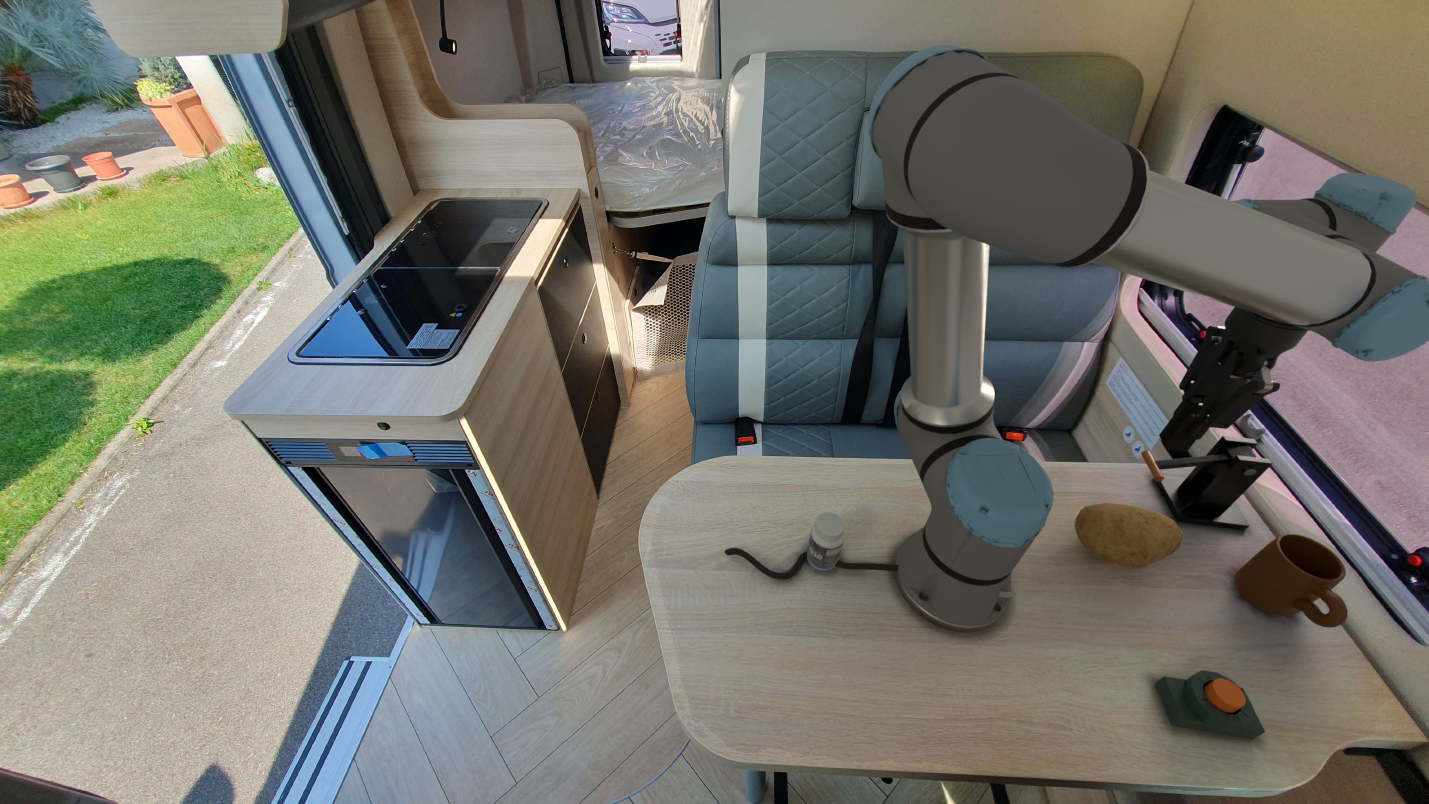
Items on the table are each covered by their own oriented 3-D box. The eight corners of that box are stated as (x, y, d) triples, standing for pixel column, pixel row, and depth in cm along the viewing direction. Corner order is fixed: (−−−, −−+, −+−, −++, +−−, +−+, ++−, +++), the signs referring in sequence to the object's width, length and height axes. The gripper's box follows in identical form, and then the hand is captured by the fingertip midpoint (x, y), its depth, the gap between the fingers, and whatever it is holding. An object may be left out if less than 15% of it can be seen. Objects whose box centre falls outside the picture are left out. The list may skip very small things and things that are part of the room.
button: (1212, 710, 66) (1221, 704, 65) (1199, 682, 69) (1207, 676, 68) (1242, 715, 66) (1251, 709, 65) (1228, 686, 68) (1237, 680, 67)
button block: (1173, 730, 68) (1192, 718, 65) (1152, 678, 73) (1169, 664, 70) (1256, 744, 67) (1279, 732, 64) (1229, 690, 72) (1250, 676, 69)
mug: (1330, 654, 75) (1388, 619, 69) (1267, 646, 76) (1318, 610, 70) (1277, 573, 84) (1324, 535, 78) (1221, 566, 85) (1263, 528, 78)
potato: (1177, 583, 82) (1210, 552, 77) (1076, 575, 83) (1101, 543, 78) (1146, 527, 90) (1174, 495, 84) (1053, 519, 91) (1075, 487, 85)
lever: (1154, 484, 88) (1156, 474, 87) (1140, 458, 92) (1141, 448, 91) (1259, 475, 84) (1263, 464, 83) (1239, 448, 88) (1243, 437, 87)
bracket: (1176, 521, 91) (1225, 467, 82) (1152, 478, 97) (1196, 424, 89) (1245, 530, 90) (1302, 476, 81) (1216, 486, 96) (1267, 431, 88)
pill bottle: (799, 549, 86) (806, 515, 80) (827, 539, 87) (835, 505, 82) (816, 576, 83) (824, 542, 77) (844, 564, 84) (854, 530, 78)
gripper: (1351, 347, 64) (1224, 484, 80) (1278, 281, 75) (1178, 413, 91) (1277, 340, 65) (1165, 477, 81) (1216, 275, 76) (1127, 407, 92)
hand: (1172, 443), depth 86 cm, fingers closed
